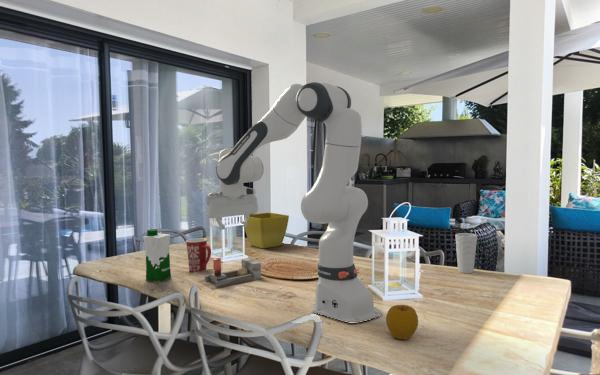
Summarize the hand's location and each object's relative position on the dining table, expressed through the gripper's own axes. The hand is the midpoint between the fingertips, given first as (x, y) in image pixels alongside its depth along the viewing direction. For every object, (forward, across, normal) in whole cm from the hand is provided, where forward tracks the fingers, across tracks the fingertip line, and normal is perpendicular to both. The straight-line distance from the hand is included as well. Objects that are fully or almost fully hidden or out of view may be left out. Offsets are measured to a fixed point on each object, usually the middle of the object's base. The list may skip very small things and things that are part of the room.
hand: (233, 227), depth 164 cm
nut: (+21, +6, +5) cm, 22 cm away
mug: (+22, -1, +30) cm, 37 cm away
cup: (+25, +84, -43) cm, 97 cm away
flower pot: (+21, +49, +56) cm, 77 cm away
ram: (+21, -5, +5) cm, 22 cm away
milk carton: (+22, -19, +30) cm, 42 cm away
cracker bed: (+22, 0, +5) cm, 23 cm away
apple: (+25, +12, -69) cm, 75 cm away
